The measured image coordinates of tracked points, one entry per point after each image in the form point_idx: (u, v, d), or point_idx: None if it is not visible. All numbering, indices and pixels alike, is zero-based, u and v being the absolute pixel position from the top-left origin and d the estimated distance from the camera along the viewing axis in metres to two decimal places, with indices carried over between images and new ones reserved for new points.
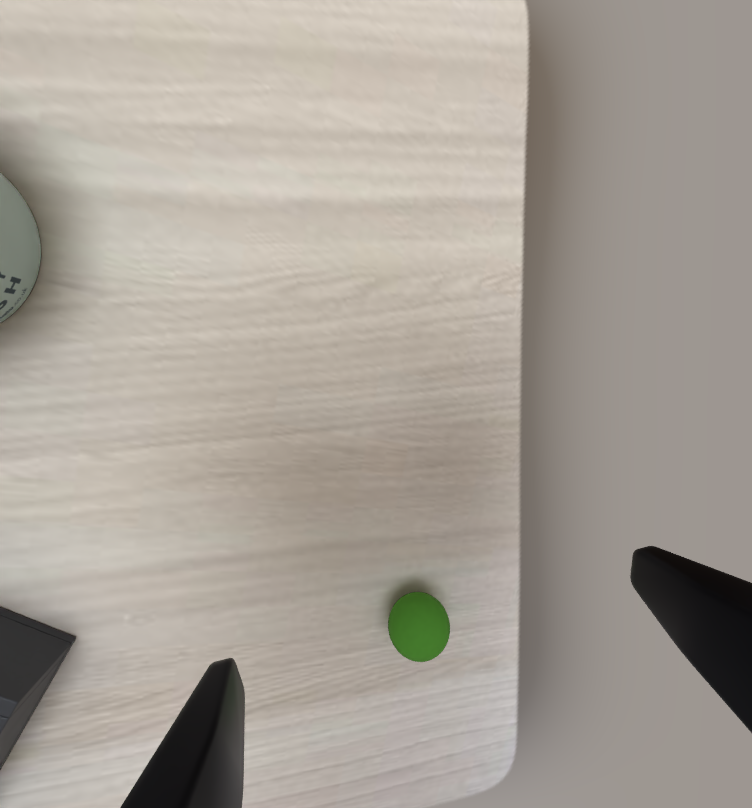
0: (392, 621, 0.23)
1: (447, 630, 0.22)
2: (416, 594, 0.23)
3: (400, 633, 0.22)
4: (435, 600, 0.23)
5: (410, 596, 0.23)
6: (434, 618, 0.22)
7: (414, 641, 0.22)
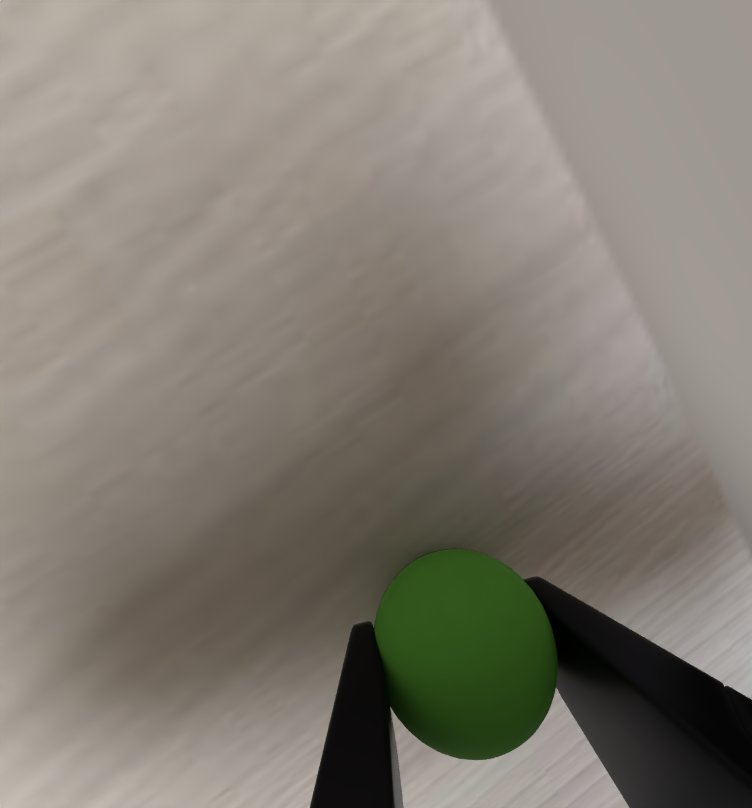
0: None
1: (540, 642, 0.07)
2: (405, 587, 0.08)
3: (414, 731, 0.07)
4: (460, 578, 0.07)
5: (392, 604, 0.08)
6: (480, 652, 0.06)
7: (460, 746, 0.07)
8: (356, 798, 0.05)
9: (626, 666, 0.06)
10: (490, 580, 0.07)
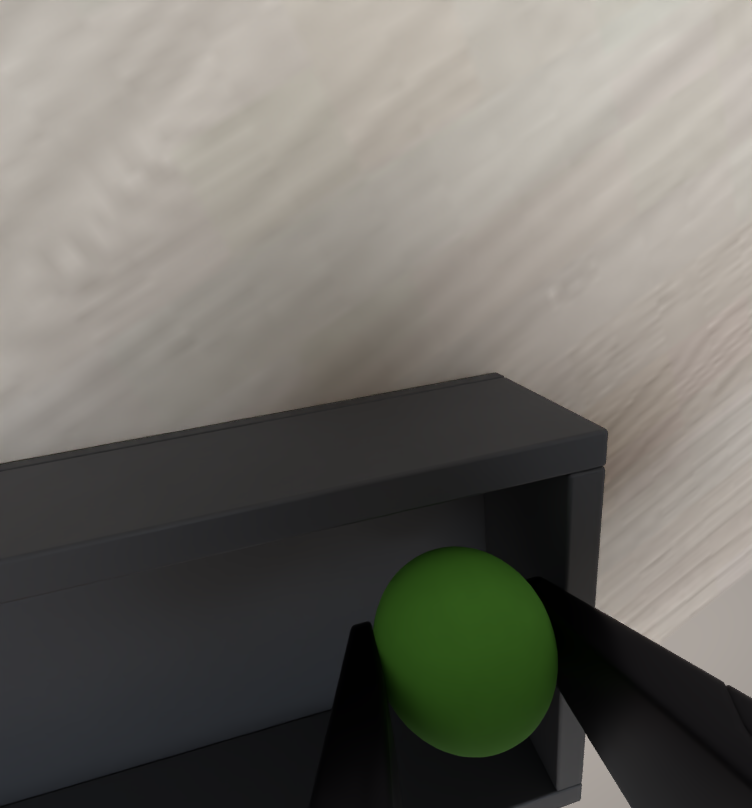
0: None
1: (540, 639, 0.07)
2: (405, 585, 0.08)
3: (414, 729, 0.07)
4: (460, 576, 0.07)
5: (391, 601, 0.08)
6: (480, 648, 0.06)
7: (461, 743, 0.07)
8: (354, 798, 0.05)
9: (627, 665, 0.06)
10: (490, 577, 0.07)
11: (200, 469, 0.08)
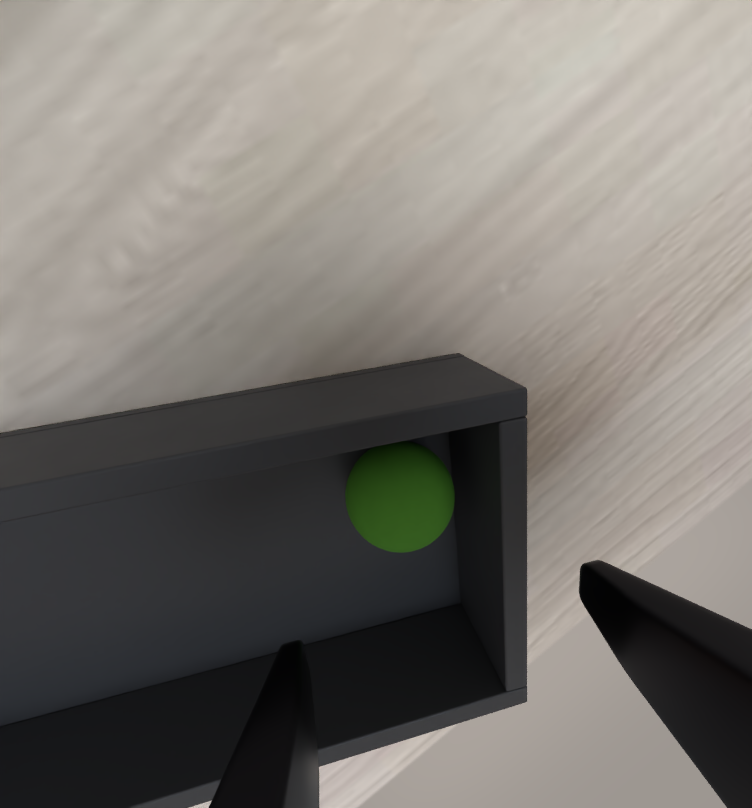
0: (353, 522, 0.13)
1: (441, 477, 0.12)
2: (364, 459, 0.13)
3: (372, 535, 0.12)
4: (396, 448, 0.12)
5: (356, 469, 0.13)
6: (406, 479, 0.12)
7: (398, 533, 0.12)
8: None
9: (707, 641, 0.06)
10: (413, 448, 0.12)
11: (222, 420, 0.11)
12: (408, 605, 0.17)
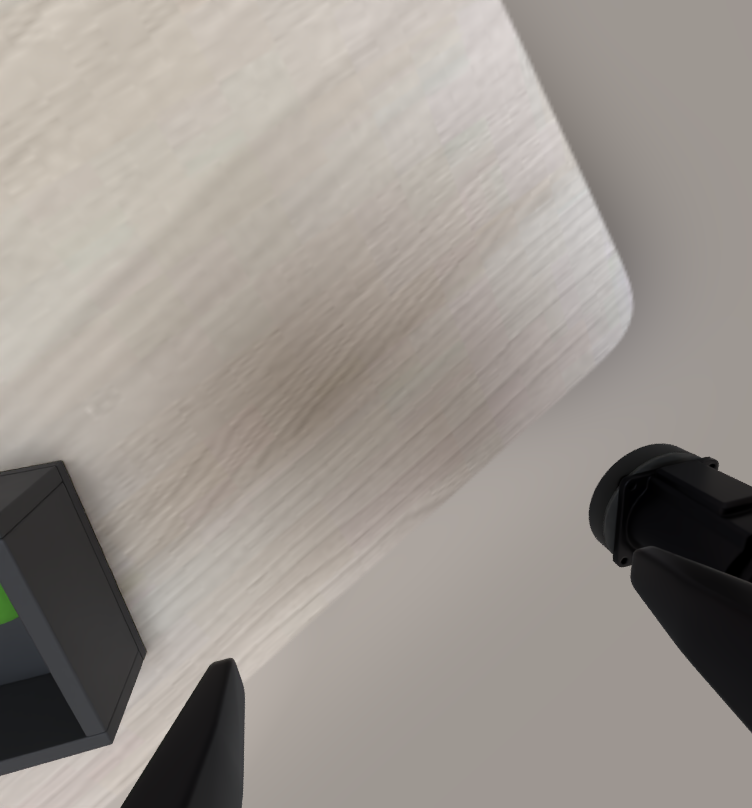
0: None
1: None
2: None
3: None
4: None
5: None
6: None
7: None
8: None
9: None
10: None
11: None
12: None
